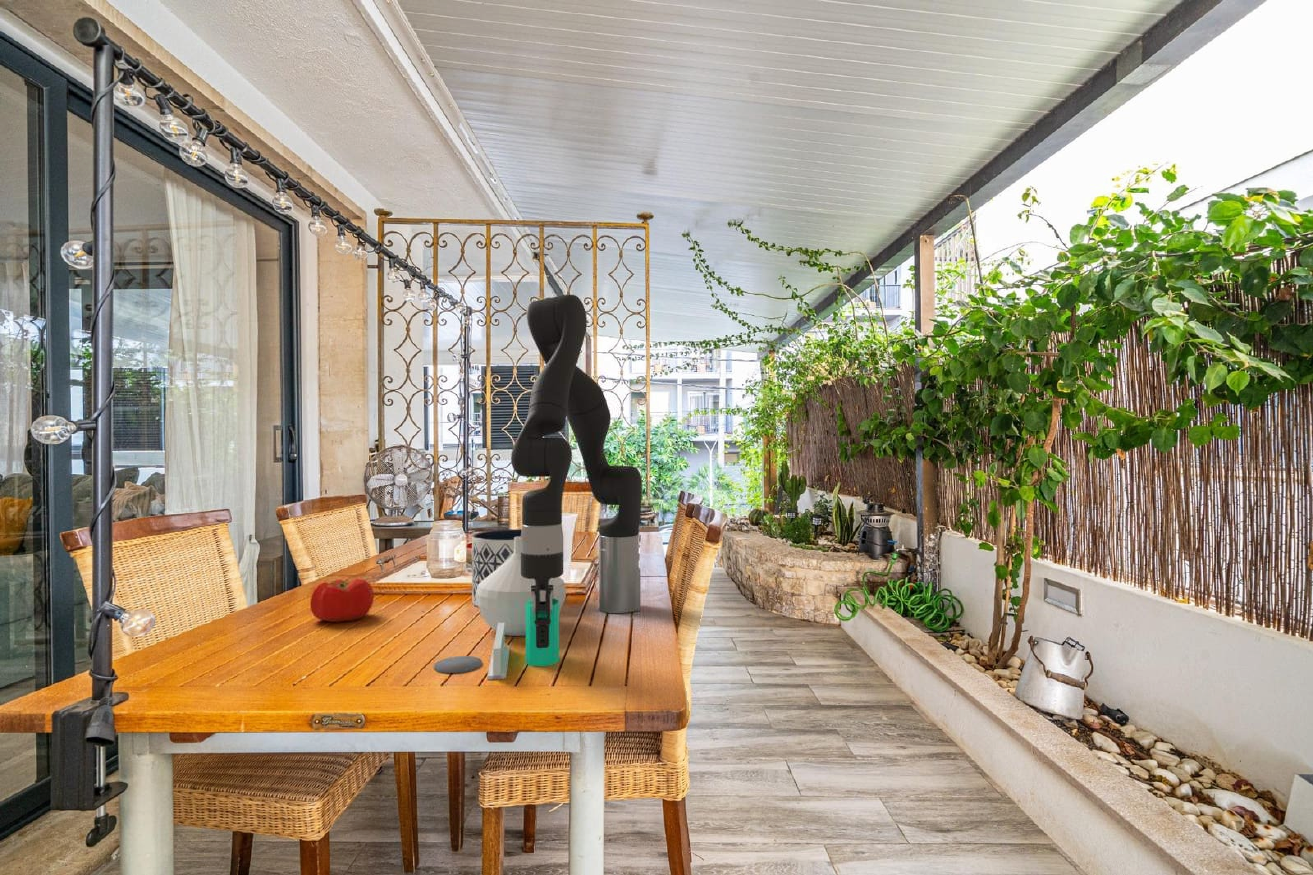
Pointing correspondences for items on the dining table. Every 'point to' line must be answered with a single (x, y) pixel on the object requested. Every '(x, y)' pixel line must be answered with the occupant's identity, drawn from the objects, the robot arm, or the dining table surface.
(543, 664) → the candle
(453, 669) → the coaster
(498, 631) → the divider wall
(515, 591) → the vase
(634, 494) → the robot arm
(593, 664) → the dining table surface
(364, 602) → the tomato
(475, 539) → the planter
